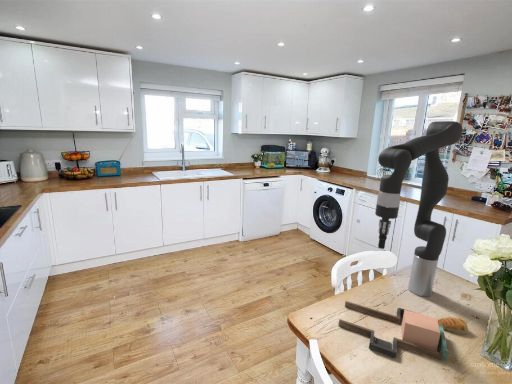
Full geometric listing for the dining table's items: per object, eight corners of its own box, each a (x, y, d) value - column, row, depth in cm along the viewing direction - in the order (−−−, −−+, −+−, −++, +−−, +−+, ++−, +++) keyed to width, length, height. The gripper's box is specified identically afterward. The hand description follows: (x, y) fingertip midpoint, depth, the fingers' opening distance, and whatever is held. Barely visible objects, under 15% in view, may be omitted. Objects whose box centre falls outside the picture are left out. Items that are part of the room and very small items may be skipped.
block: (401, 327, 102) (404, 309, 100) (432, 337, 97) (436, 318, 96) (401, 341, 94) (405, 322, 93) (436, 352, 90) (440, 333, 89)
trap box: (347, 297, 119) (348, 288, 118) (437, 323, 104) (439, 314, 103) (334, 336, 95) (335, 326, 94) (448, 378, 81) (451, 366, 80)
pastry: (443, 333, 100) (445, 324, 99) (432, 321, 106) (434, 312, 105) (469, 335, 99) (472, 326, 98) (457, 322, 106) (459, 314, 105)
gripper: (378, 198, 108) (372, 240, 112) (375, 206, 97) (368, 251, 101) (399, 201, 105) (392, 244, 109) (399, 209, 93) (391, 256, 97)
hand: (381, 247), depth 105 cm, fingers closed
